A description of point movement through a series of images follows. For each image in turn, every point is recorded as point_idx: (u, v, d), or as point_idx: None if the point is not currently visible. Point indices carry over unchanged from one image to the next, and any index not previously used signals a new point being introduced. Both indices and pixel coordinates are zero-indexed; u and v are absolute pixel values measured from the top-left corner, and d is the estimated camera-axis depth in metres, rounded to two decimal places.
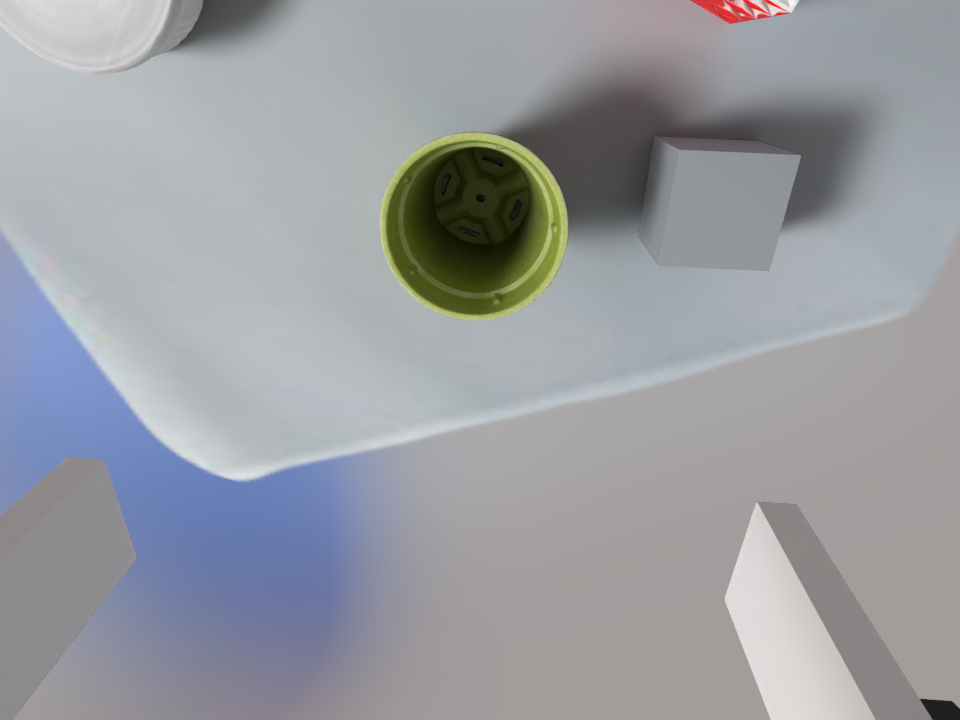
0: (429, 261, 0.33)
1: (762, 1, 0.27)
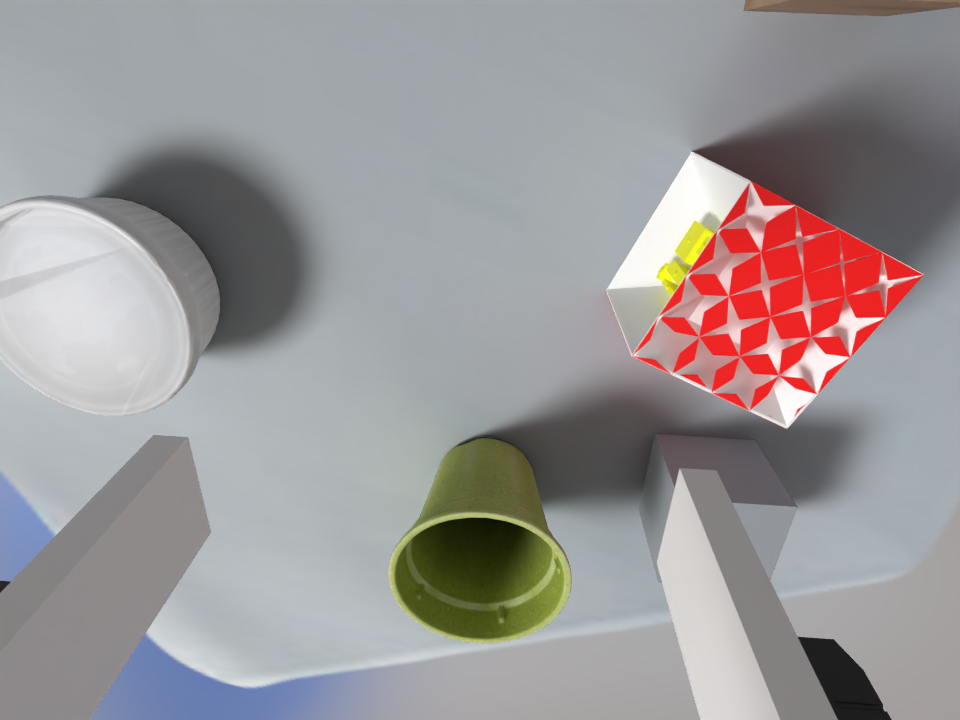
0: (436, 567, 0.34)
1: None
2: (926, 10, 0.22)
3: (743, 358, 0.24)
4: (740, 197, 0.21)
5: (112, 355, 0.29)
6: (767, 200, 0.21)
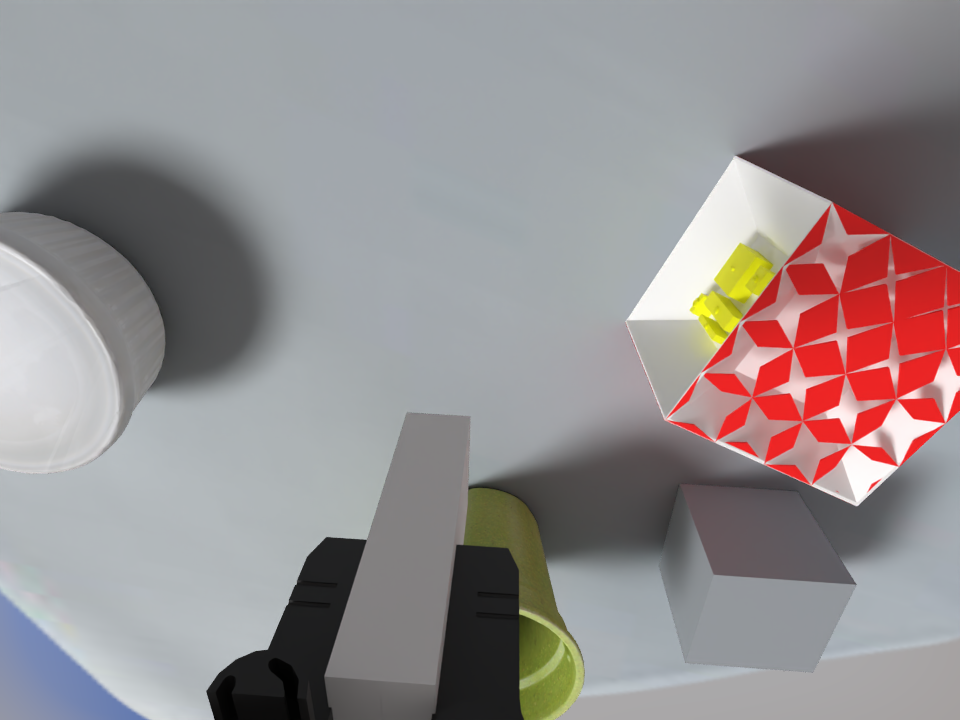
0: None
1: None
2: None
3: (807, 423, 0.19)
4: (816, 224, 0.16)
5: (26, 406, 0.24)
6: (853, 227, 0.16)
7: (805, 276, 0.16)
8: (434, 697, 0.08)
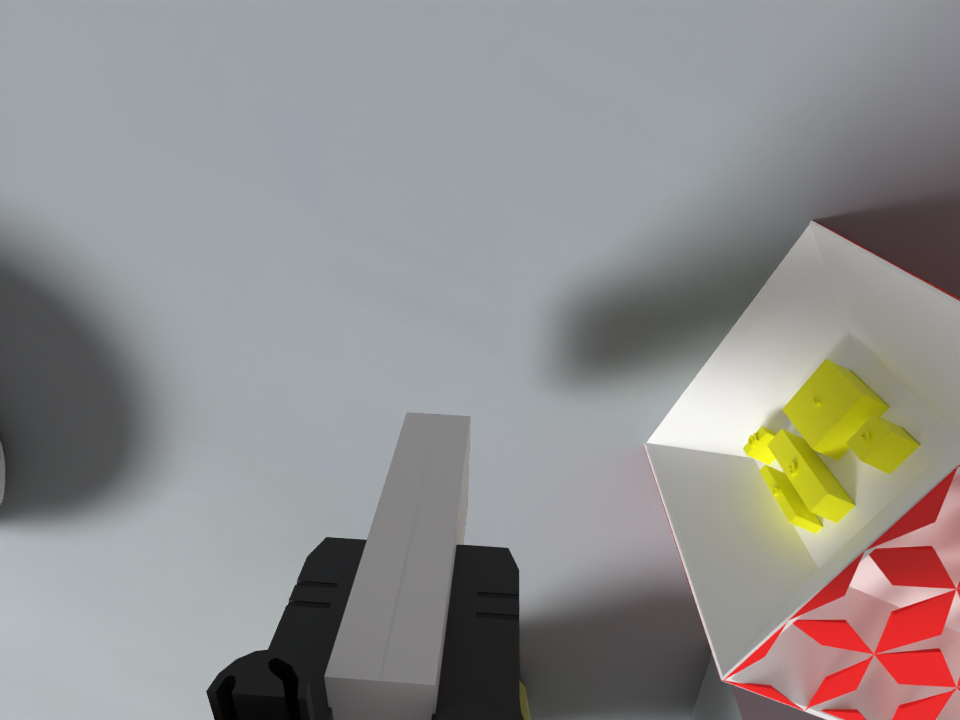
0: None
1: None
2: None
3: None
4: None
5: None
6: None
7: None
8: (434, 697, 0.08)
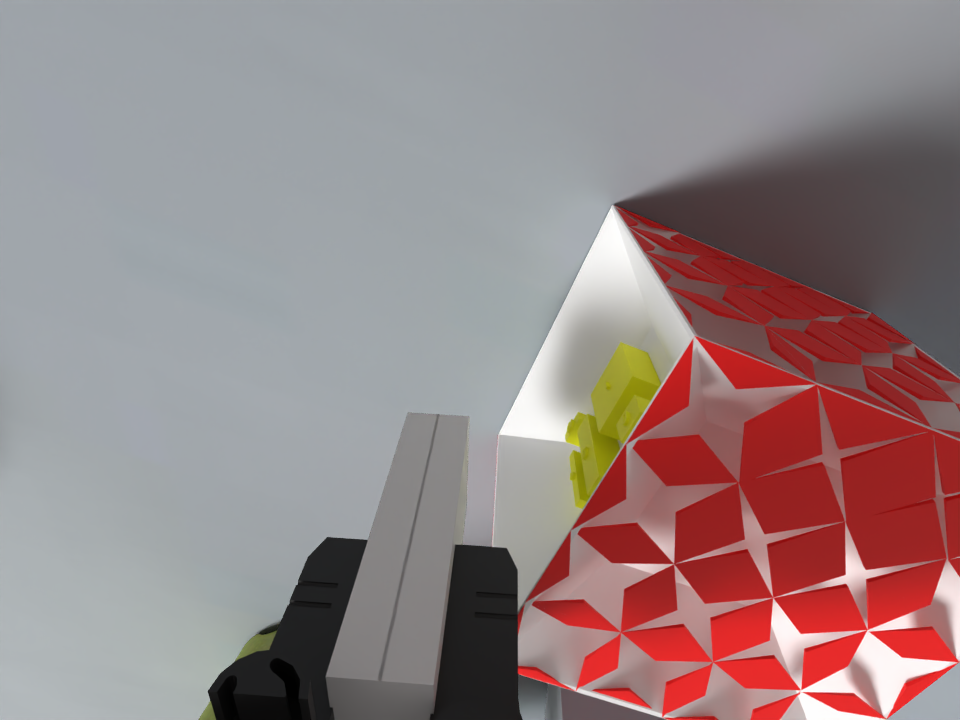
0: None
1: None
2: None
3: (721, 665, 0.11)
4: (672, 374, 0.08)
5: None
6: (743, 377, 0.08)
7: (671, 457, 0.09)
8: (433, 697, 0.08)
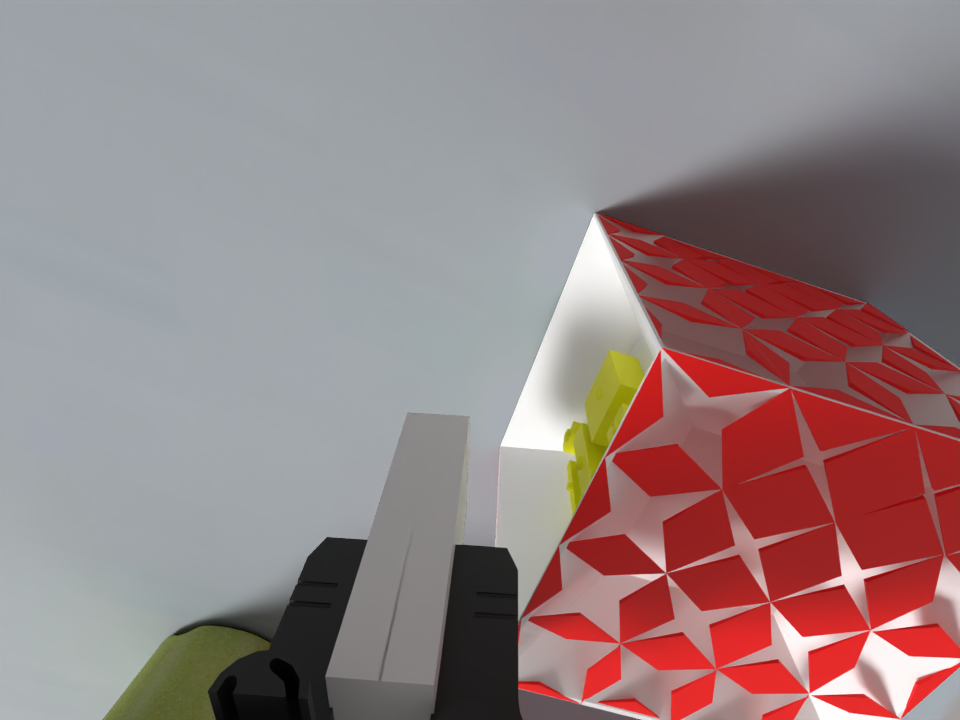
0: None
1: None
2: None
3: (725, 672, 0.11)
4: (644, 386, 0.08)
5: None
6: (715, 385, 0.08)
7: (651, 468, 0.09)
8: (433, 697, 0.08)
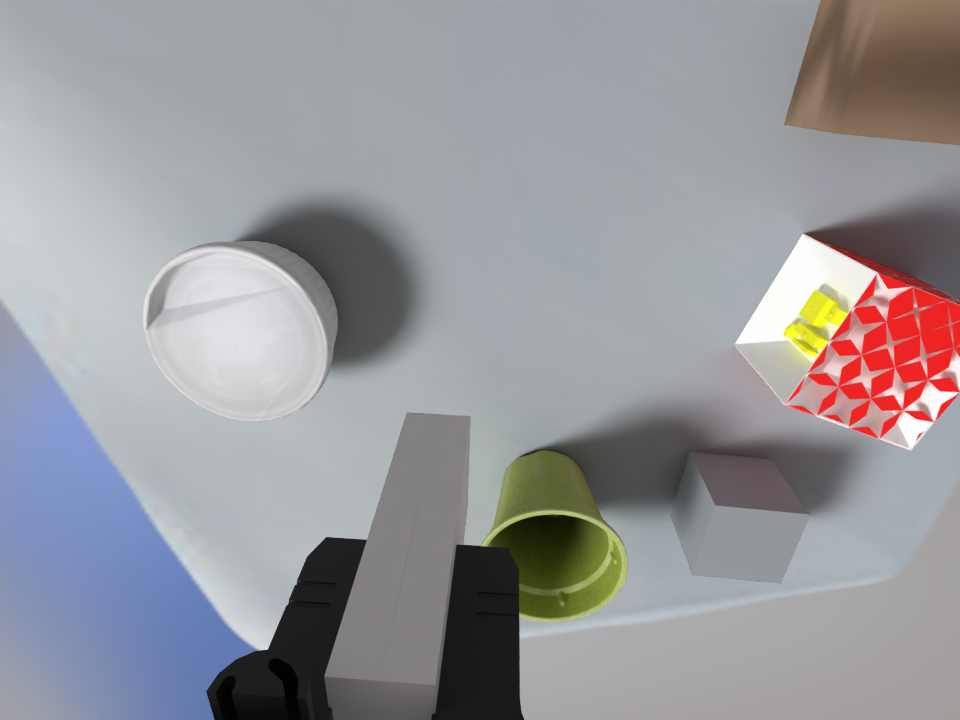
0: None
1: None
2: None
3: (874, 399, 0.31)
4: (869, 284, 0.28)
5: (258, 372, 0.35)
6: (890, 285, 0.28)
7: (865, 313, 0.29)
8: (434, 697, 0.08)
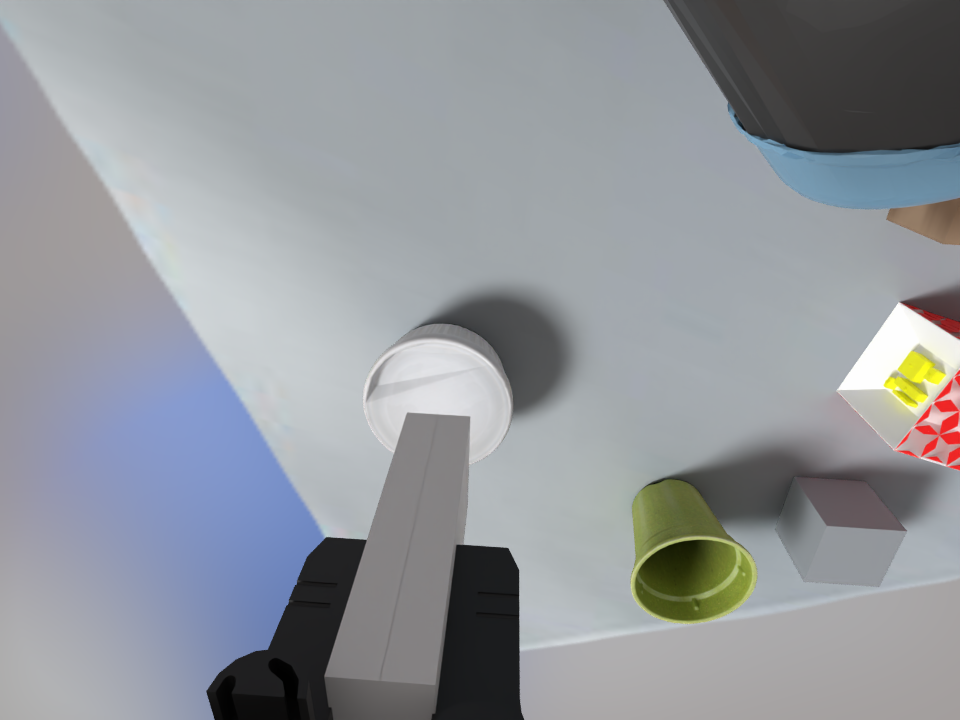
0: (644, 571, 0.48)
1: None
2: None
3: None
4: None
5: None
6: None
7: None
8: (434, 697, 0.08)
